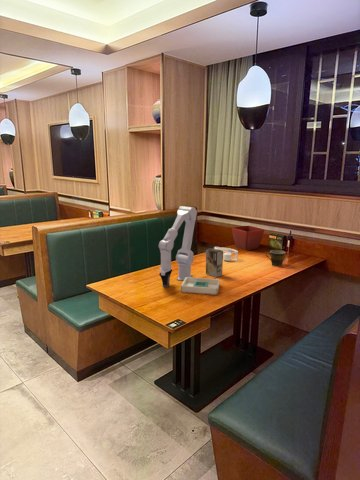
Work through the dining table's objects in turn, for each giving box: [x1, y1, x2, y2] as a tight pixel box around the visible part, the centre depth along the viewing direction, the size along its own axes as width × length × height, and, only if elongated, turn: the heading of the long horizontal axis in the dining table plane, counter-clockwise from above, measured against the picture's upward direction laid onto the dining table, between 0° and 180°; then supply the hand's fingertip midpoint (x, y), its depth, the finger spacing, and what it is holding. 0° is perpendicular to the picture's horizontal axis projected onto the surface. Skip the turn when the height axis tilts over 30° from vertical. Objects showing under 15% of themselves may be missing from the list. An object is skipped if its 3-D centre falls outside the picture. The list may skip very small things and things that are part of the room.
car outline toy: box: [213, 246, 239, 262], centre depth 249 cm, size 20×11×7 cm, turn 37°
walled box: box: [180, 276, 221, 296], centre depth 192 cm, size 15×20×4 cm
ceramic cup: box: [265, 249, 286, 268], centre depth 233 cm, size 13×10×10 cm
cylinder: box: [162, 275, 171, 288], centre depth 195 cm, size 4×4×7 cm
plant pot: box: [231, 225, 265, 251], centre depth 278 cm, size 19×19×17 cm
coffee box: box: [205, 247, 224, 278], centre depth 214 cm, size 9×6×16 cm
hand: (166, 283), depth 195 cm, fingers open, 4 cm apart
